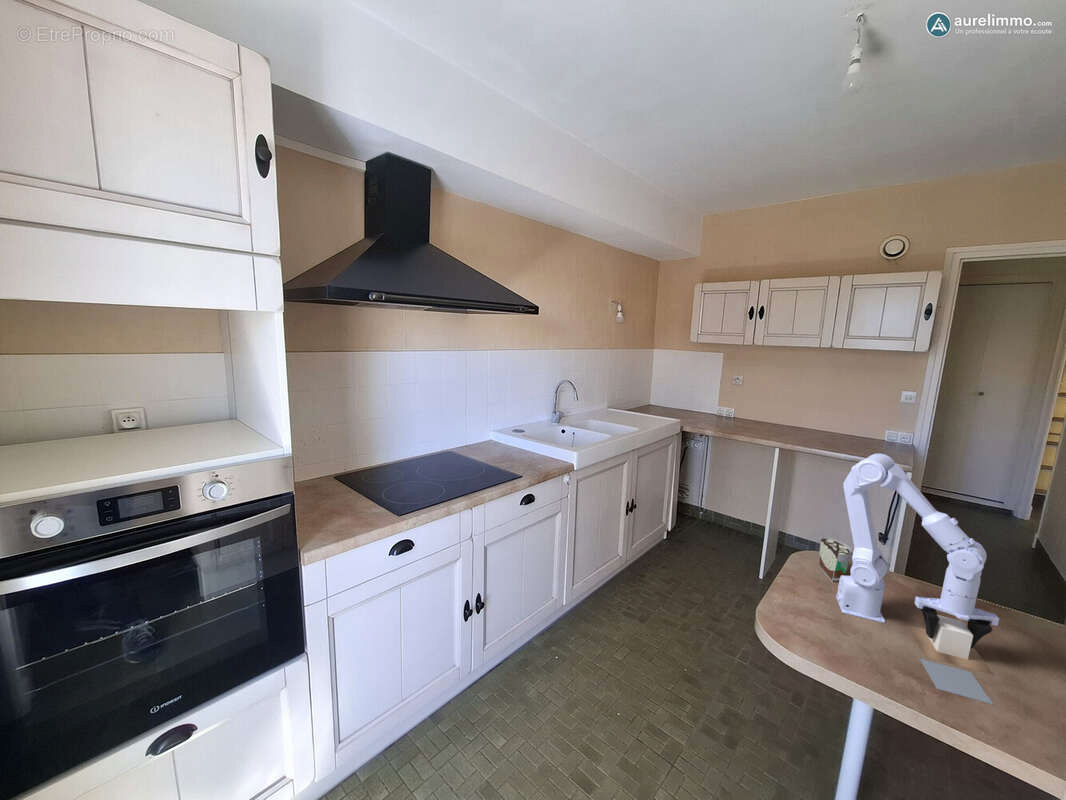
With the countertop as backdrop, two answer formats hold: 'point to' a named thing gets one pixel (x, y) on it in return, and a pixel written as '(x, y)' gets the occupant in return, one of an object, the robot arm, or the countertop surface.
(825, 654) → the countertop surface
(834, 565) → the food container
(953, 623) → the matte white cube
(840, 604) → the robot arm
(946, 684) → the mat
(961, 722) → the countertop surface
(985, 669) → the board
